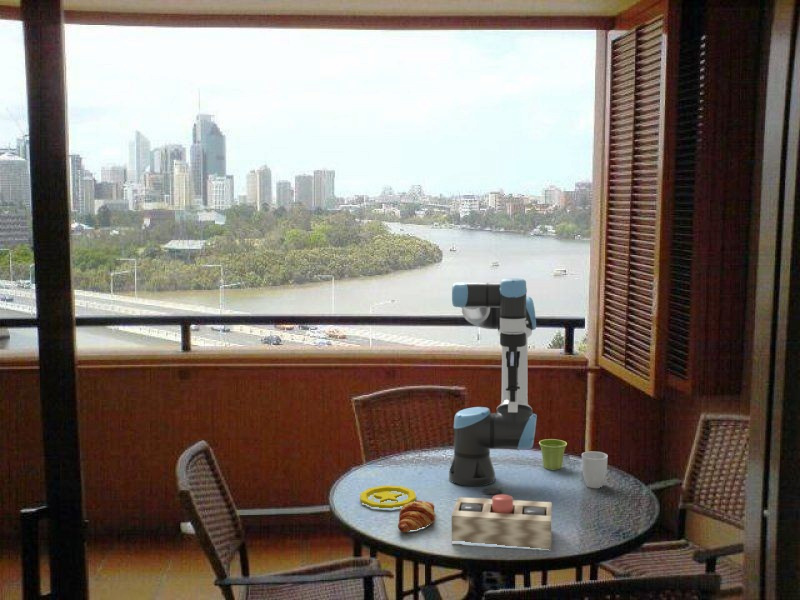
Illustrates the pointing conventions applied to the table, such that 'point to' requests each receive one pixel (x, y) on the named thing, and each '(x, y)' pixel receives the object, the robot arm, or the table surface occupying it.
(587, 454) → the cup
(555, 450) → the plant pot
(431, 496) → the table surface
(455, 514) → the control box
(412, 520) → the croissant
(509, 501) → the middle button
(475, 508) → the left button
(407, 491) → the decorative disc
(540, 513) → the right button
